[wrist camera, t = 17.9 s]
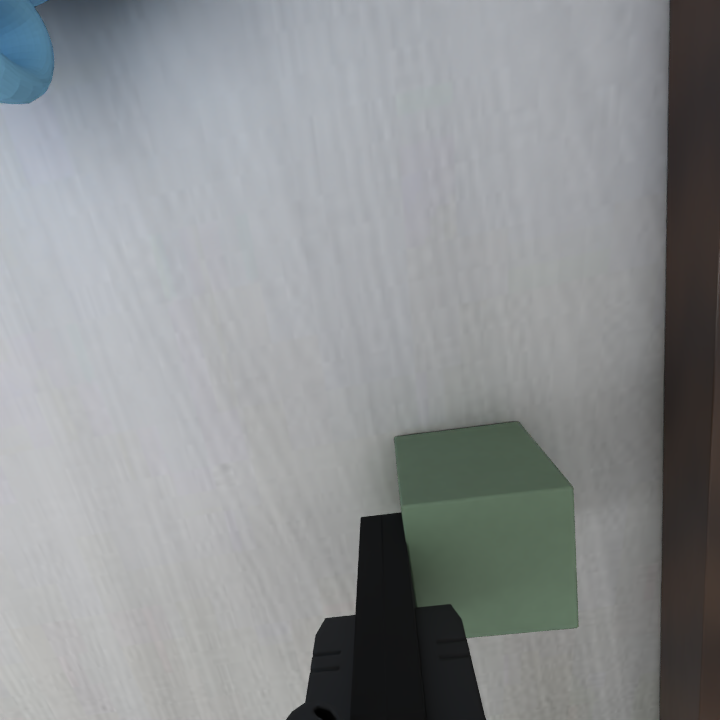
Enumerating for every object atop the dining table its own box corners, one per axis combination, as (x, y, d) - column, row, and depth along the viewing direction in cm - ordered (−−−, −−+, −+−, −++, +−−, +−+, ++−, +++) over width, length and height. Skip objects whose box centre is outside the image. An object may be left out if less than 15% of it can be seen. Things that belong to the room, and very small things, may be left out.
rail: (690, 771, 21) (730, 838, 19) (658, 773, 21) (694, 839, 19) (738, -513, 11) (841, -730, 9) (676, -497, 11) (760, -706, 9)
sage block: (526, 529, 18) (579, 629, 14) (408, 542, 19) (420, 643, 14) (518, 420, 17) (574, 486, 12) (393, 436, 18) (400, 506, 13)
